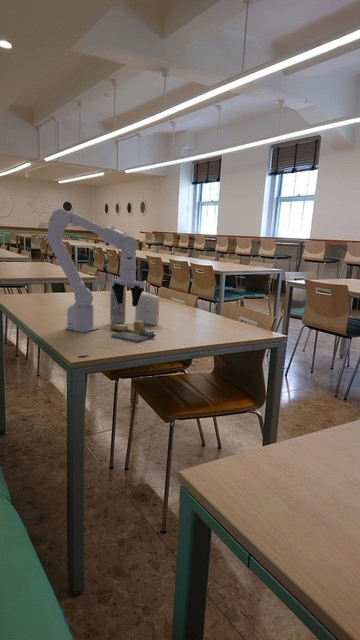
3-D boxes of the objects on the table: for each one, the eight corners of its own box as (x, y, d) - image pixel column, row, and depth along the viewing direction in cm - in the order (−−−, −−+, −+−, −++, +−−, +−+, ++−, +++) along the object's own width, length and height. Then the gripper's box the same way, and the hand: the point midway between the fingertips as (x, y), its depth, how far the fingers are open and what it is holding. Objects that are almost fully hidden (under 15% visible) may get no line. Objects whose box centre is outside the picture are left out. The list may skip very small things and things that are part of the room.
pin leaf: (111, 336, 146) (111, 330, 145) (128, 332, 154) (128, 325, 154) (140, 343, 139) (140, 336, 139) (157, 338, 147) (157, 331, 147)
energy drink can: (126, 322, 171) (127, 286, 168) (123, 325, 165) (123, 288, 162) (112, 321, 171) (112, 285, 168) (108, 324, 165) (108, 287, 162)
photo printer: (159, 324, 171) (161, 294, 168) (154, 325, 167) (155, 295, 165) (139, 320, 176) (140, 291, 173) (133, 322, 172) (134, 292, 170)
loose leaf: (110, 329, 156) (110, 320, 155) (126, 325, 164) (126, 316, 163) (135, 335, 149) (135, 324, 149) (151, 330, 157) (151, 321, 157)
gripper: (150, 270, 154) (148, 306, 157) (120, 267, 162) (119, 301, 164) (138, 271, 148) (137, 308, 151) (108, 267, 156) (107, 303, 159)
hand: (127, 304), depth 157 cm, fingers open, 7 cm apart
